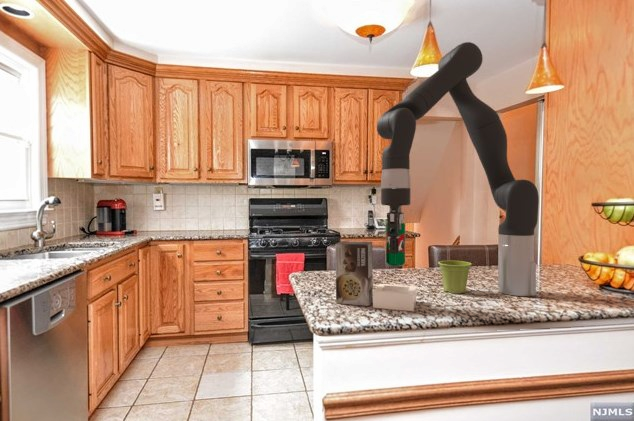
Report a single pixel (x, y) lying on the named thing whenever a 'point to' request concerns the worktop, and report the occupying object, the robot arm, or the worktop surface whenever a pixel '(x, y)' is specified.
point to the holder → (395, 297)
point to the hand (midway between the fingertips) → (395, 251)
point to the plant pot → (454, 275)
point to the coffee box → (354, 273)
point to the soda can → (400, 256)
